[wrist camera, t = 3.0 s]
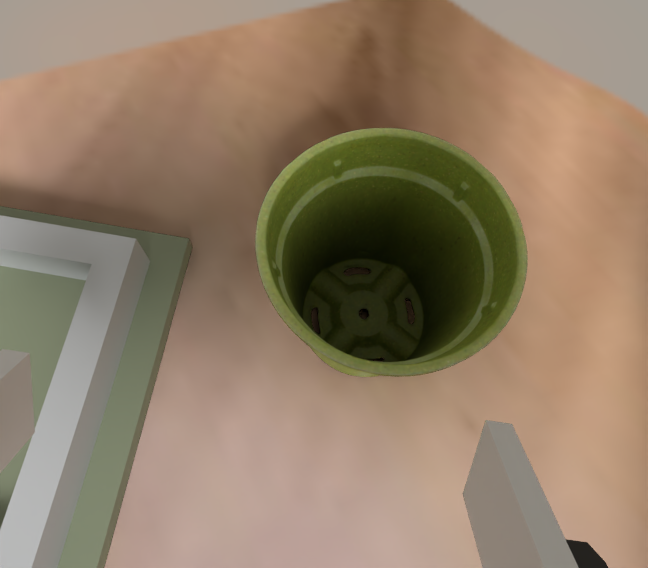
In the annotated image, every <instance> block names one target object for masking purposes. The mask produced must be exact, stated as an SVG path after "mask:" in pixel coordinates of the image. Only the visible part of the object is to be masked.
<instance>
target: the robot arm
mask: <svg viewBox="0 0 648 568" xmlns="http://www.w3.org/2000/svg"><path fill="white" fill-rule="evenodd" d="M34 433H35V427H34V411H33V396H32V380H31V365H30V353H26V352H19V351H13V350H6V349H2V350H1V351H0V473H1V472H2V470H3V469H4V468H5V467H6V466H7V465H8V463H9V462H10V461H11V460H12V459H13V458H14V456H15V455H16V454H17V453H18V452H19V450H20V449H21V448H22V447H23V446H24V445H25V443H26V442H27V441H28V440H29V439H30V438H31V436H32V435H33V434H34ZM463 497H464V501H465V505H466V508H467V512H468V516H469V519H470V523H471V527H472V530H473V534H474V538H475V541H476V545H477V549H478V552H479V556H480V560H481V563H482V567H483V568H608V566H607V564H606V562H605V561H604V560H603V559H602V558H601V557H600V556H599V555H598V554H597V553H596V552H595V550H594V549H593V548H592V547H591V546H590V545H589V544H588V543H587V542H580V541H573V540H566V539H565V537H564V535H563V533H562V531H561V529H560V526H559V524H558V522H557V520H556V518H555V516H554V514H553V511H552V509H551V507H550V505H549V503H548V501H547V498H546V496H545V494H544V492H543V490H542V488H541V486H540V483H539V481H538V479H537V477H536V475H535V473H534V470H533V468H532V466H531V464H530V462H529V460H528V457H527V455H526V453H525V451H524V449H523V447H522V445H521V442H520V440H519V438H518V436H517V434H516V432H515V429H514V427H513V425H512V424H509V423H502V422H495V421H488V420H486V421H485V424H484V427H483V431H482V434H481V437H480V440H479V443H478V447H477V450H476V453H475V456H474V459H473V463H472V466H471V469H470V472H469V475H468V479H467V482H466V485H465V488H464V491H463Z"/></svg>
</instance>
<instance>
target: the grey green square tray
mask: <svg viewBox="0 0 648 568" xmlns="http://www.w3.org/2000/svg"><path fill="white" fill-rule="evenodd" d="M191 250H192V245H191V243H190V240H189V238H183V237H177V236H171V235H166V234H160V233H154V232H148V231H142V230H137V229H131V228H125V227H119V226H113V225H107V224H102V223H96V222H90V221H84V220H78V219H73V218H67V217H61V216H55V215H49V214H43V213H38V212H32V211H26V210H20V209H14V208H9V207H3V206H0V351H1V350H2V349H6V350H13V351H19V352H26V353H30V365H31V380H32V396H33V411H34V427H35V433H34V434H33V435H32V436H31V438H30V439H29V440H28V441H27V442H26V443H25V445H24V446H23V447H22V448H21V449H20V450H19V452H18V453H17V454H16V455H15V456H14V458H13V459H12V460H11V461H10V462H9V463H8V465H7V466H6V467H5V468H4V469H3V470H2V472H1V473H0V568H104V566H105V563H106V559H107V555H108V552H109V548H110V544H111V541H112V537H113V534H114V530H115V526H116V523H117V519H118V515H119V512H120V508H121V504H122V501H123V497H124V494H125V490H126V486H127V483H128V479H129V475H130V472H131V468H132V464H133V461H134V457H135V454H136V450H137V446H138V443H139V439H140V435H141V432H142V428H143V424H144V421H145V417H146V414H147V410H148V406H149V403H150V399H151V395H152V392H153V388H154V384H155V381H156V377H157V374H158V370H159V366H160V363H161V359H162V355H163V352H164V348H165V345H166V341H167V337H168V334H169V330H170V326H171V323H172V319H173V315H174V312H175V308H176V305H177V301H178V297H179V294H180V290H181V286H182V283H183V279H184V275H185V272H186V268H187V265H188V261H189V257H190V254H191Z"/></svg>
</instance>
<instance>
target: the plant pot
mask: <svg viewBox="0 0 648 568" xmlns="http://www.w3.org/2000/svg"><path fill="white" fill-rule="evenodd" d="M255 250H256V258H257V265H258V269H259V273H260V277H261V280H262V283H263V285H264V288H265V290H266V293H267V295H268V297H269V299H270V301H271V302H272V304H273V306H274V308H275V309H276V311H277V312H278V314H279V315H280V317H281V318H282V319H283V321H284V322H285V323H286V324H287V326H288V327H289V328H290V329H291V330H292V331H293V332H294V333H295V334H296V335H297V336H298V337H299V338H300V339H301V340H303V341H304V342H305V343H306V344H307V345H308V346H310V347H311V349H312V350H313V351H314V352H315V354H316V355H317V356H318V357H319V358H320V359H322V360H323V361H324V362H325V363H327V364H328V365H329V366H331V367H333V368H334V369H336V370H338V371H340V372H342V373H345V374H348V375H353V376H360V377H373V376H379V375H383V376H415V375H423V374H428V373H432V372H436V371H439V370H442V369H445V368H448V367H451V366H453V365H455V364H457V363H459V362H461V361H463V360H466V359H467V358H469V357H471V356H472V355H474V354H475V353H477V352H478V351H480V350H481V349H483V348H484V347H485V346H487V345H488V344H489V343H490V342H491V341H492V340H493V339H494V338H495V337H496V336H497V335H498V334H499V333H500V332H501V330H502V329H503V328H504V327H505V326H506V324H507V323H508V321H509V320H510V318H511V316H512V315H513V313H514V311H515V309H516V307H517V305H518V303H519V300H520V298H521V295H522V291H523V288H524V284H525V279H526V272H527V246H526V240H525V236H524V233H523V228H522V224H521V221H520V218H519V216H518V213H517V211H516V208H515V207H514V205H513V203H512V202H511V200H510V198H509V196H508V194H507V193H506V191H505V190H504V188H503V187H502V185H501V184H500V183H499V182H498V180H497V179H496V178H495V176H494V175H493V174H491V173H490V172H489V171H488V170H487V169H486V168H485V167H484V166H483V165H482V164H480V163H479V162H478V161H477V160H476V159H475V158H473V157H472V156H471V155H469V154H468V153H466V152H465V151H463V150H461V149H460V148H458V147H456V146H454V145H452V144H450V143H449V142H446V141H444V140H442V139H440V138H437V137H434V136H431V135H428V134H425V133H421V132H417V131H412V130H407V129H399V128H369V129H361V130H354V131H350V132H346V133H342V134H339V135H336V136H333V137H331V138H328V139H327V140H324V141H322V142H320V143H318V144H316V145H314V146H313V147H311V148H309V149H307V150H306V151H304V152H303V153H302V154H301V155H299V156H298V157H297V158H296V159H295V160H293V161H292V162H291V163H290V164H289V165H288V166H286V167H285V168H284V169H283V170H282V172H281V173H280V174H279V176H278V177H277V178H276V179H275V181H274V182H273V184H272V185H271V187H270V189H269V190H268V192H267V194H266V196H265V199H264V201H263V203H262V206H261V209H260V212H259V216H258V220H257V227H256V237H255ZM353 267H356V268H357V267H363V268H367V269H369V270H370V271H371V272H370V274H353V275H349V276H346V275H344V274H343V273H344V271H345V270H347V269H349V268H353ZM405 298H407V299H410V300H411V303H412V308H413V311H414V313H415V320H414V323H413V324H409V323H408V316H407V309H406V304H405V301H404V300H405ZM314 307H317V308H318V322H319V327H320V333H319V334H318V333H317V332H315V331H314V329H313V326H312V319H311V311H312V310H313V308H314ZM363 308H364V309H367V310H368V314H369V316H368V317H367V318H366V319H362V318H361V317H360V316H359V312H360V309H363ZM376 358H378V359H379V358H384V360H383V362H378V361H370V360H365V359H376Z"/></svg>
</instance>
